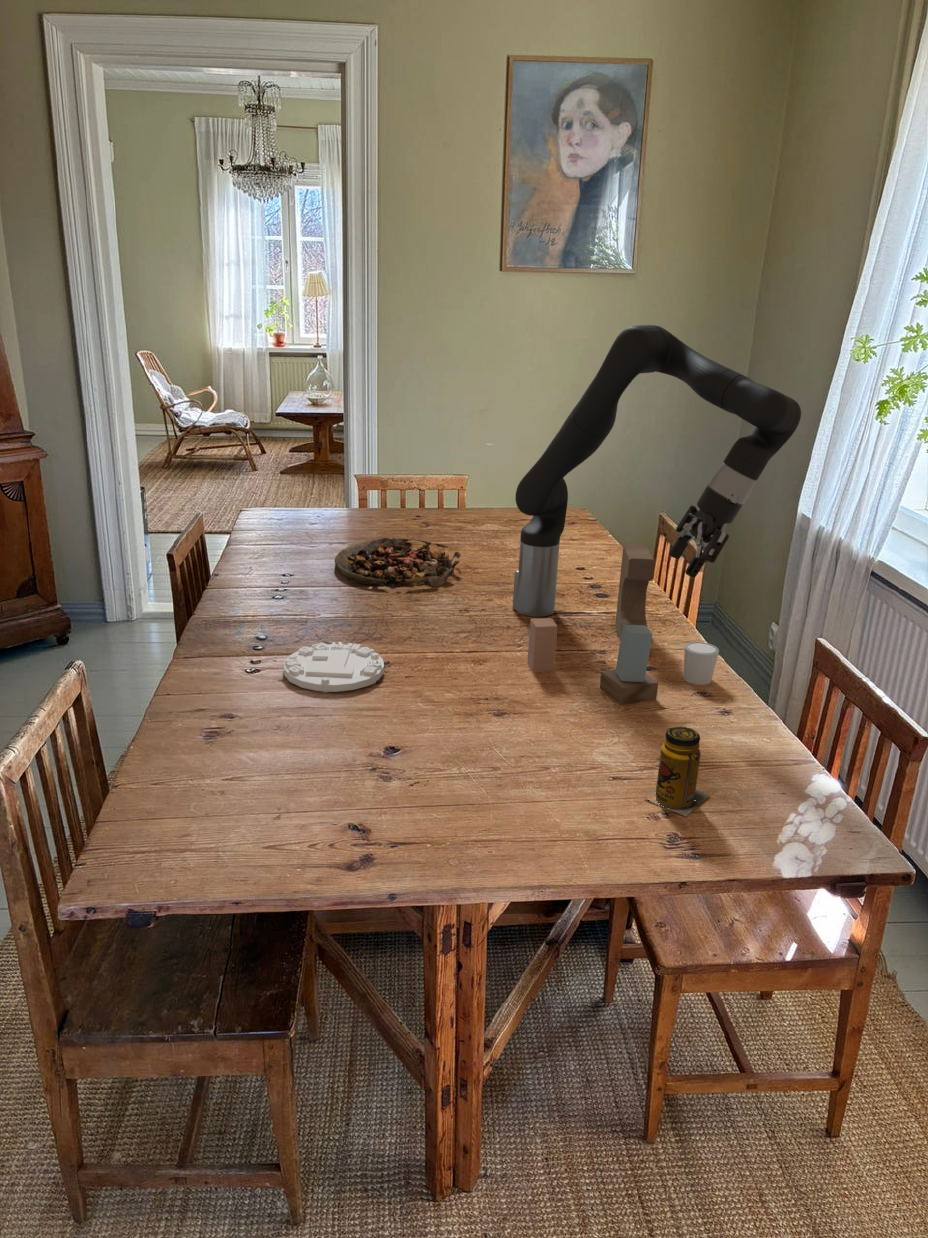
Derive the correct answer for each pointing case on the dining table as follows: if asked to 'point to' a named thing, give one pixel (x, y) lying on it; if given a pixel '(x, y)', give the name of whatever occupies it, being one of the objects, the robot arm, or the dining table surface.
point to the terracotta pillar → (542, 644)
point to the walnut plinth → (628, 688)
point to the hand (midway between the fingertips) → (681, 566)
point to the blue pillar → (633, 653)
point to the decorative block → (633, 586)
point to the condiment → (679, 772)
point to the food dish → (395, 563)
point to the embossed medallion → (334, 667)
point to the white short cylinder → (699, 662)
